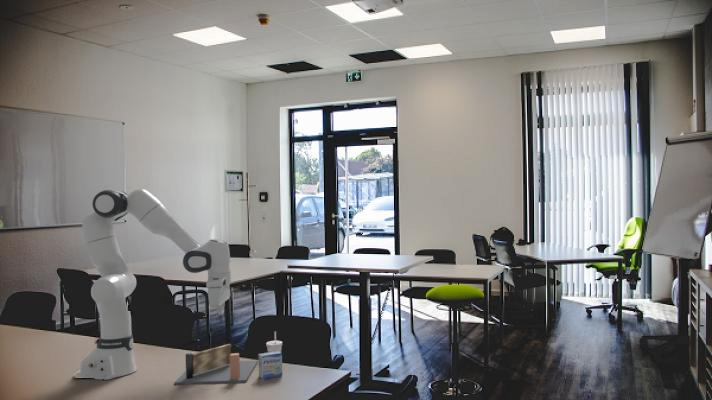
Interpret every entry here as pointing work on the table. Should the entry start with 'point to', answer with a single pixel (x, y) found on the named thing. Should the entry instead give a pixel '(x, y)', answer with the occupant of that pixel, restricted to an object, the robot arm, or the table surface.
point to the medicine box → (270, 364)
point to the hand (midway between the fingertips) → (220, 313)
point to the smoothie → (274, 345)
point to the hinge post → (189, 366)
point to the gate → (211, 358)
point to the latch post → (234, 366)
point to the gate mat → (219, 375)
